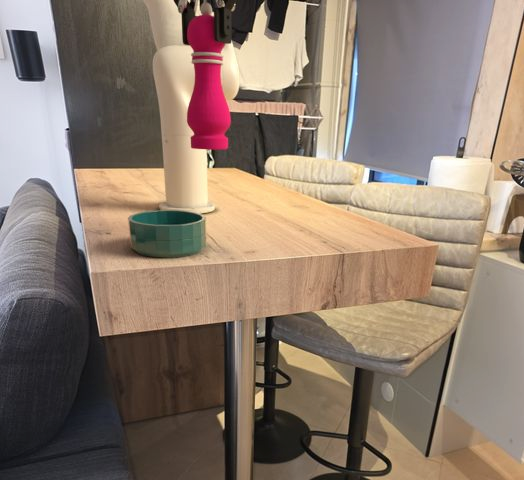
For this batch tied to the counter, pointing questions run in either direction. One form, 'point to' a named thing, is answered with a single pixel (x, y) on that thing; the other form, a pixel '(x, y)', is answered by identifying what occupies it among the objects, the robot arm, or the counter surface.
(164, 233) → the bowl
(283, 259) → the counter surface
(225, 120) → the pepper mill
